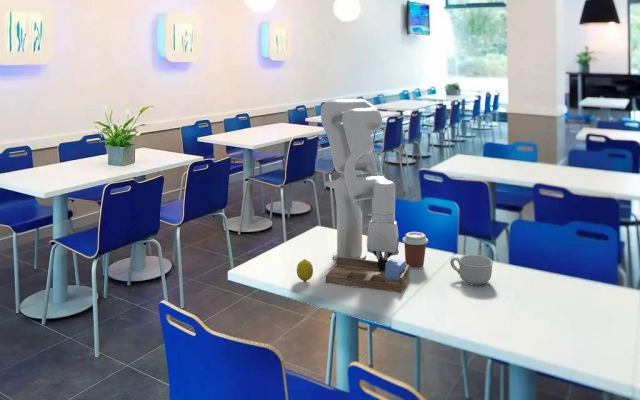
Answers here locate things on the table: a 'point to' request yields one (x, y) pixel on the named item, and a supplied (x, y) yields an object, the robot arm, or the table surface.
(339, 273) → the wooden rimmed tray
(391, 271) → the blue block
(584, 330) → the table surface
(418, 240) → the coffee cup
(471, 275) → the teacup
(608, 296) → the table surface
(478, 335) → the table surface
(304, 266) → the lemon
